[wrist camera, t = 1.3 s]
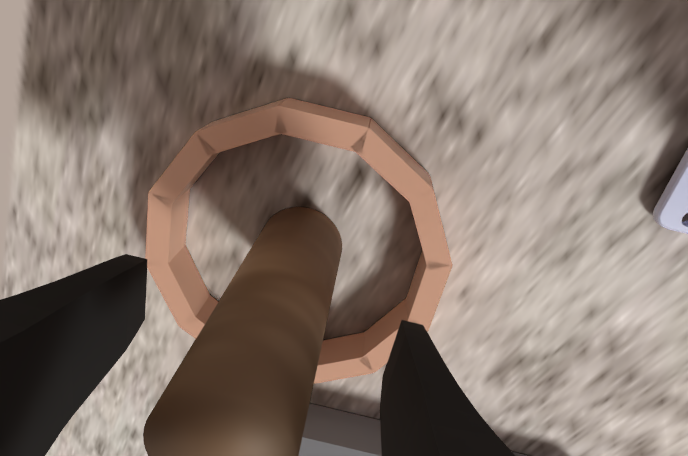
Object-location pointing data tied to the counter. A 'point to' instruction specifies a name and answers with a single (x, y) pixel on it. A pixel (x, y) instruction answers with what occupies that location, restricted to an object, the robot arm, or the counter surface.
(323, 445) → the tray
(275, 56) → the counter surface
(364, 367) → the ring
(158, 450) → the dowel
